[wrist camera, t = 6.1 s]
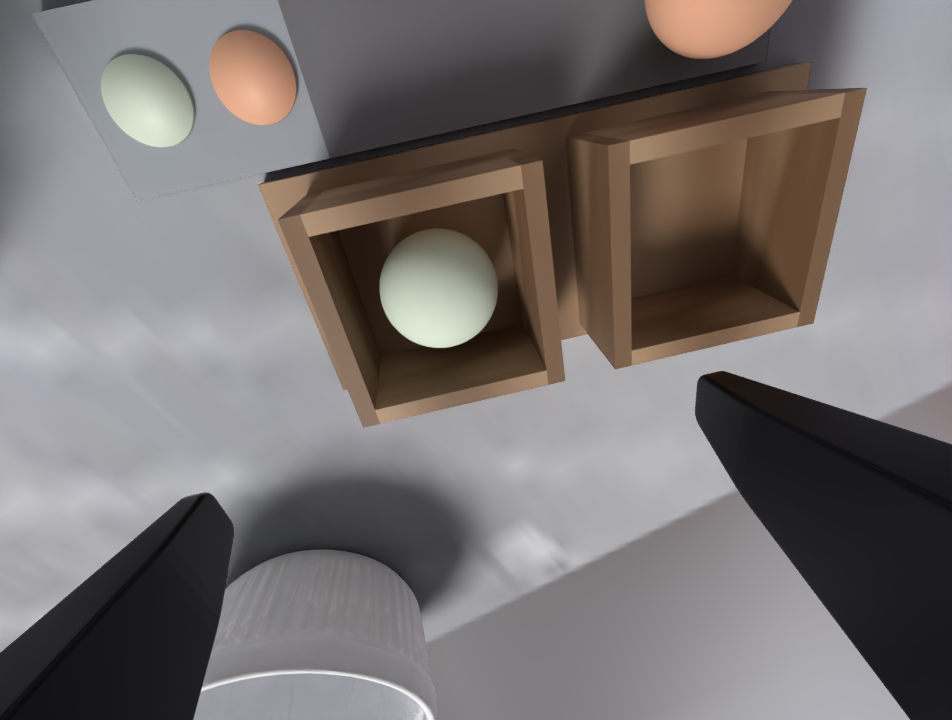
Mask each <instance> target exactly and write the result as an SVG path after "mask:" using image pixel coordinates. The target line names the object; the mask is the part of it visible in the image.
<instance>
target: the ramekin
mask: <svg viewBox="0 0 952 720" xmlns="http://www.w3.org/2000/svg"><path fill="white" fill-rule="evenodd" d="M436 707H437V703H436V694H435V689H434V686H433V684H432V682H431V680H430V676H429V668H428V659H427V652H426V644H425V636H424V630H423V624H422V618H421V614H420V609H419V605H418V602H417V599H416V598H415V595H414V593H413V592H412V590H411V589H410V588H409V586H408V585H407V583H406V582H405V581H404V580H402V579H401V577H400V576H399V575H398V574H397V573H395V572H394V571H393V570H392V569H390V568H389V567H388V566H386V565H384V564H382V563H381V562H379V561H376V560H374V559H372V558H369V557H367V556H364V555H360V554H356V553H351V552H347V551H339V550H306V551H298V552H293V553H288V554H285V555H281V556H278V557H275V558H272V559H269V560H267V561H265V562H263V563H261V564H259V565H257V566H256V567H254V568H253V569H251V570H250V571H248V572H246V573H244V574H242V575H241V576H240V577H239V578H238V579H237V580H235V581H234V582H232V583H231V584H230V585H229V586H228V587H227V589H226V590H225V593H224V599H223V605H222V610H221V616H220V621H219V625H218V629H217V633H216V637H215V641H214V645H213V648H212V652H211V656H210V660H209V663H208V667H207V671H206V675H205V678H204V682H203V686H202V690H201V693H200V697H199V701H198V705H197V708H196V712H195V716H194V720H436V718H437V717H436V716H437V715H436V714H437V710H436Z"/></svg>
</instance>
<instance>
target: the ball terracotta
mask: <svg viewBox="0 0 952 720" xmlns="http://www.w3.org/2000/svg"><path fill="white" fill-rule="evenodd" d="M792 1H793V0H644V3H645V9H646V13H647V17H648V20H649V23H650V25H651V28H652V29H653V31H654V33H655V35H656V36H657V37H658V39H659V40H660V41H661V42H662V43H663V44H664V45H665V46H666V47H668V48H669V49H670V50H672V51H673V52H675V53H677V54H679V55H682V56H685V57H689V58H694V59H710V58H717V57H720V56H724V55H727V54H730V53H733V52H735V51H737V50H739V49H741V48H743V47H745V46H747V45H748V44H750V43H751V42H753V41H755V40H756V39H757V38H758V37H760V36H761V35H762V34H763V33H765V32H766V31H767V30H768V29H769V28H770V27H771V26H772V25H773V24H774V23H775V22H776V21H777V20H778V19H779V18H780V16H781V15H782V14H783V13H784V12H785V11H786V9H787V8H788V7H789V5H790V4H791V2H792Z"/></svg>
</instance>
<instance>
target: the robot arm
mask: <svg viewBox="0 0 952 720" xmlns="http://www.w3.org/2000/svg"><path fill="white" fill-rule="evenodd" d="M695 416H696V420H697V422H698V424H699V426H700V428H701V429H702V431H703V433H704V434H705V436H706V438H707V439H708V441H709V443H710V444H711V446H712V448H713V450H714V451H715V453H716V455H717V456H718V458H719V460H720V461H721V463H722V465H723V466H724V468H725V470H726V471H727V473H728V475H729V476H730V478H731V480H732V481H733V483H734V484H735V486H736V488H737V489H738V491H739V492H740V494H741V495H742V497H743V498H744V499H745V501H746V502H747V503H748V505H749V506H750V508H751V509H752V510H753V512H754V513H755V514H756V516H757V517H758V518H759V520H760V521H761V522H762V523H763V525H764V526H765V528H766V529H767V530H768V531H769V533H770V534H771V535H772V537H773V538H774V540H775V541H776V542H777V544H778V545H779V546H780V547H781V549H782V550H783V551H784V553H785V554H786V555H787V557H788V558H789V559H790V561H791V562H792V563H793V565H794V566H795V567H796V569H797V570H798V571H799V573H800V574H801V575H802V577H803V578H804V579H805V581H806V582H807V583H808V585H809V586H810V587H811V589H812V590H813V591H814V593H815V594H816V595H817V596H818V598H819V599H820V601H821V602H822V603H823V605H824V606H825V607H826V609H827V610H828V611H829V612H830V614H831V615H832V617H833V618H834V619H835V620H836V622H837V623H838V624H839V626H840V627H841V628H842V630H843V631H844V632H845V634H846V635H847V636H848V638H849V639H850V640H851V642H852V643H853V644H854V646H855V647H856V648H857V650H858V651H859V652H860V654H861V655H862V656H863V658H864V659H865V660H866V662H867V663H868V664H869V666H870V667H871V668H872V669H873V671H874V672H875V674H876V675H877V676H878V678H879V679H880V680H881V681H882V683H883V684H884V686H885V687H886V688H887V689H888V691H889V692H890V693H891V695H892V696H893V697H894V699H895V700H896V701H897V703H898V704H899V705H900V707H901V708H902V709H903V711H904V712H905V713H906V715H907V716H908V717H909V719H910V720H952V444H949V443H946V442H943V441H940V440H937V439H934V438H931V437H928V436H925V435H921V434H918V433H915V432H912V431H909V430H906V429H903V428H900V427H897V426H893V425H890V424H887V423H884V422H881V421H878V420H875V419H872V418H868V417H865V416H862V415H859V414H856V413H853V412H850V411H847V410H844V409H840V408H837V407H834V406H831V405H828V404H825V403H822V402H819V401H815V400H812V399H809V398H806V397H803V396H800V395H797V394H794V393H791V392H787V391H784V390H781V389H778V388H775V387H772V386H769V385H766V384H762V383H759V382H756V381H753V380H750V379H747V378H744V377H741V376H738V375H734V374H731V373H728V372H725V371H719V372H715V373H710V374H706V375H703V376H701V377H700V378H699V380H698V383H697V392H696V404H695ZM233 537H234V528H233V524H232V522H231V520H230V518H229V517H228V515H227V514H226V513H225V511H224V510H223V508H222V507H221V506H220V504H219V503H218V501H217V500H216V499H215V497H214V496H213V495H212V494H210V493H200V494H196V495H191V496H187V497H185V498H183V499H181V500H180V501H179V502H177V503H176V504H175V505H174V506H173V507H171V508H170V509H169V510H168V511H167V512H166V513H164V514H163V515H162V516H161V517H160V518H158V519H157V520H156V521H155V522H154V523H153V524H151V525H150V526H149V527H148V528H147V529H146V530H144V531H143V532H142V533H141V534H140V535H138V536H137V537H136V538H135V539H134V540H133V541H131V542H130V543H129V544H128V545H127V546H126V547H124V548H123V549H122V550H121V551H120V552H118V553H117V554H116V555H115V556H114V557H113V558H111V559H110V560H109V561H108V562H107V563H105V564H104V565H103V566H102V567H101V568H100V569H98V570H97V571H96V572H95V573H94V574H93V575H91V576H90V577H89V578H88V579H87V580H85V581H84V582H83V583H82V584H81V585H80V586H78V587H77V588H76V589H75V590H74V591H73V592H71V593H70V594H69V595H68V596H67V597H65V598H64V599H63V600H62V601H61V602H60V603H58V604H57V605H56V606H55V607H54V608H53V609H51V610H50V611H49V612H48V613H47V614H45V615H44V616H43V617H42V618H41V619H40V620H38V621H37V622H36V623H35V624H34V625H32V626H31V627H30V628H29V629H28V630H27V631H25V632H24V633H23V634H22V635H21V636H20V637H18V638H17V639H16V640H15V641H14V642H12V643H11V644H10V645H9V646H8V647H7V648H5V649H4V650H3V651H2V652H1V653H0V720H194V716H195V712H196V708H197V705H198V701H199V697H200V693H201V690H202V686H203V682H204V678H205V675H206V671H207V667H208V663H209V660H210V656H211V652H212V648H213V645H214V641H215V637H216V633H217V629H218V625H219V621H220V616H221V610H222V605H223V599H224V593H225V587H226V580H227V574H228V568H229V562H230V555H231V549H232V543H233Z"/></svg>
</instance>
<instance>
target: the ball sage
mask: <svg viewBox="0 0 952 720" xmlns="http://www.w3.org/2000/svg"><path fill="white" fill-rule="evenodd" d="M379 289H380V299H381V303H382V306H383V309H384V311H385V314H386V316H387V317H388V319H389V321H390V322H391V324H392V325H393V326H394V327H395V328H396V329H397V330H398V331H399V332H400V333H401V334H402V335H403V336H405V337H406V338H407V339H409V340H411V341H413V342H415V343H417V344H420V345H423V346H427V347H433V348H447V347H452V346H456V345H459V344H462V343H464V342H466V341H468V340H470V339H471V338H473V337H474V336H475V335H477V334H478V333H479V332H480V331H481V330H482V329H483V328H484V327H485V325H486V324H487V323H488V321H489V320H490V318H491V316H492V314H493V311H494V309H495V306H496V302H497V297H498V281H497V276H496V272H495V269H494V266H493V264H492V261H491V260H490V258H489V256H488V255H487V253H486V252H485V251H484V250H483V248H482V247H481V246H480V245H479V244H478V243H477V242H475V241H474V240H473V239H471V238H470V237H468V236H466V235H464V234H462V233H460V232H457V231H454V230H449V229H442V228H432V229H426V230H422V231H419V232H416V233H414V234H412V235H410V236H408V237H407V238H405V239H404V240H402V241H401V242H400V243H399V244H398V245H397V246H396V247H395V248H394V249H393V250H392V251H391V253H390V254H389V256H388V257H387V259H386V261H385V263H384V266H383V269H382V272H381V277H380V287H379Z"/></svg>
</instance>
